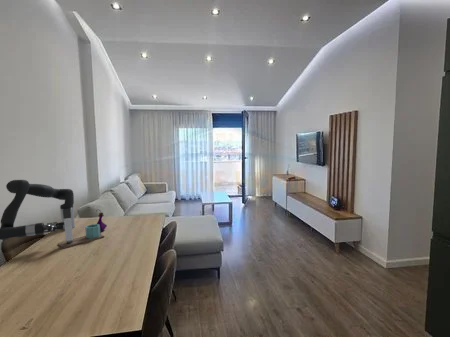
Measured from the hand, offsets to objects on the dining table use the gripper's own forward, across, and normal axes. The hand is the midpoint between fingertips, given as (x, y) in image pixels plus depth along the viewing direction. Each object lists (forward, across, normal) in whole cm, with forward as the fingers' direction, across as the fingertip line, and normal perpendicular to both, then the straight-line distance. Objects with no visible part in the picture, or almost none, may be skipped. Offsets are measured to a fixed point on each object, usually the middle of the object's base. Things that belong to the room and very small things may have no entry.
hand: (63, 225), depth 178 cm
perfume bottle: (+23, +20, +14) cm, 34 cm away
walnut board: (+10, +3, +14) cm, 18 cm away
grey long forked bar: (+3, 0, +13) cm, 13 cm away
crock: (+18, +6, +13) cm, 23 cm away
